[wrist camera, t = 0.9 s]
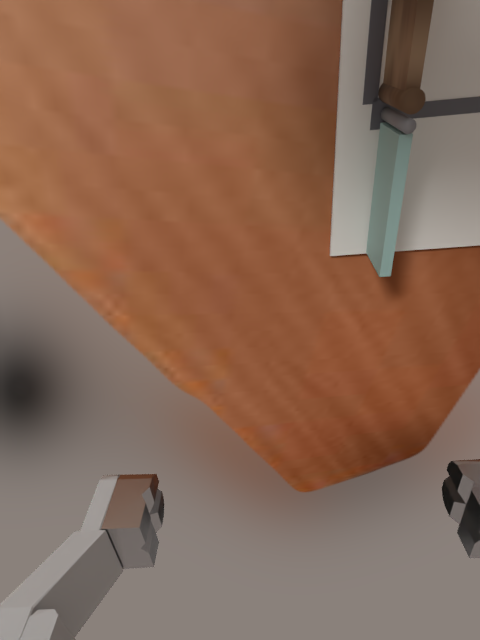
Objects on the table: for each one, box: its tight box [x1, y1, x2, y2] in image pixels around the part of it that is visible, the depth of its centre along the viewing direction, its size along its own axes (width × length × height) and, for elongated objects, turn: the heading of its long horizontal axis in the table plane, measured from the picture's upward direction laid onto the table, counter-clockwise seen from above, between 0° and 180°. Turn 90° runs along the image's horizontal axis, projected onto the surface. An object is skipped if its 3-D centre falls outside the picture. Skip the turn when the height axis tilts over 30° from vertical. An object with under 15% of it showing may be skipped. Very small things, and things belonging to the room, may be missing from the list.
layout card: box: [330, 0, 480, 256], centre depth 32 cm, size 28×20×1 cm
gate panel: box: [366, 107, 416, 277], centre depth 34 cm, size 13×1×6 cm, turn 5°
